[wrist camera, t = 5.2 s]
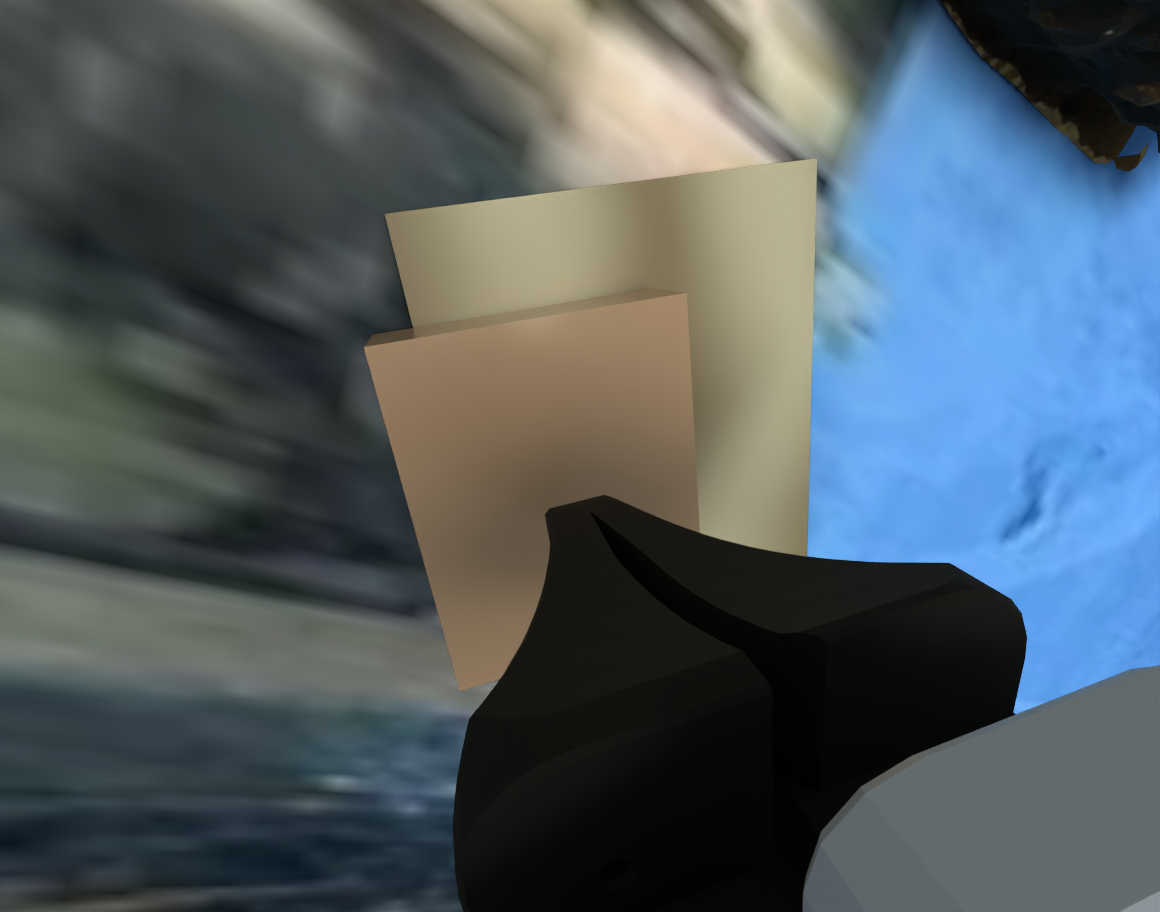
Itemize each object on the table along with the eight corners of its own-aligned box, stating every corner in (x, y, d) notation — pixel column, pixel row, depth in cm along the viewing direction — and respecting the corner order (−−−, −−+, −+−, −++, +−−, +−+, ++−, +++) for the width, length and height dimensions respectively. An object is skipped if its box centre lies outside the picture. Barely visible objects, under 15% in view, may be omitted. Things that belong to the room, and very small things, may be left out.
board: (501, 683, 17) (503, 692, 17) (385, 215, 12) (384, 213, 12) (798, 592, 20) (806, 598, 19) (806, 160, 14) (816, 158, 14)
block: (459, 691, 14) (704, 617, 15) (363, 347, 11) (686, 292, 12) (455, 638, 16) (672, 577, 17) (373, 334, 13) (650, 288, 14)
